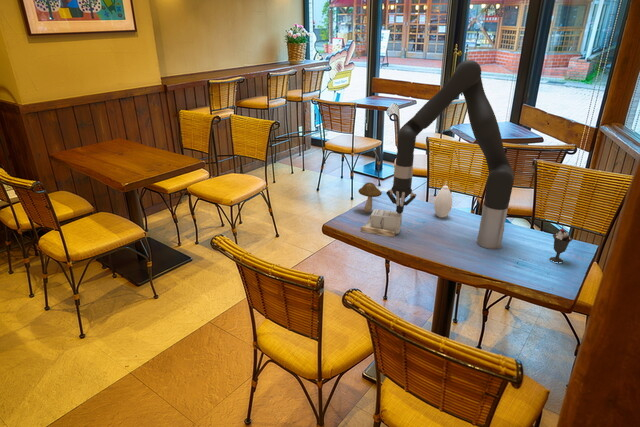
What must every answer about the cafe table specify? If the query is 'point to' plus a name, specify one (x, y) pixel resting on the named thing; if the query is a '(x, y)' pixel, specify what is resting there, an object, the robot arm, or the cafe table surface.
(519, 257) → the cafe table surface
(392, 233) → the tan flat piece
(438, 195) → the sauce bottle
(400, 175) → the robot arm
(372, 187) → the mushroom
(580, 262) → the cafe table surface
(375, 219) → the supplement box
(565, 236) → the sundae
